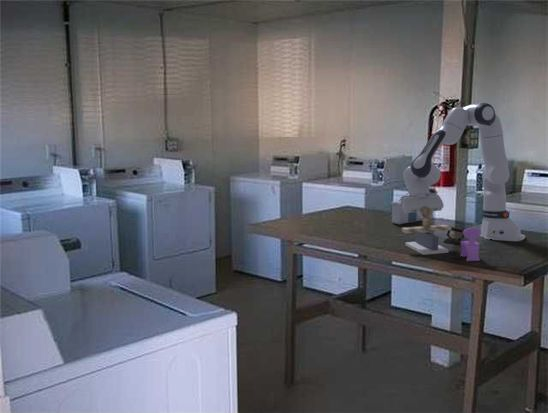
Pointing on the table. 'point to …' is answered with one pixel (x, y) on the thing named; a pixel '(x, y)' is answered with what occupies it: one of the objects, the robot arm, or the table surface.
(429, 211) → the balance beam
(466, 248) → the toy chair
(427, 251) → the ridge stand
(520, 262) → the table surface
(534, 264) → the table surface
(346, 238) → the table surface
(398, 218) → the stereo radio cassette player
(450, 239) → the clothes iron
